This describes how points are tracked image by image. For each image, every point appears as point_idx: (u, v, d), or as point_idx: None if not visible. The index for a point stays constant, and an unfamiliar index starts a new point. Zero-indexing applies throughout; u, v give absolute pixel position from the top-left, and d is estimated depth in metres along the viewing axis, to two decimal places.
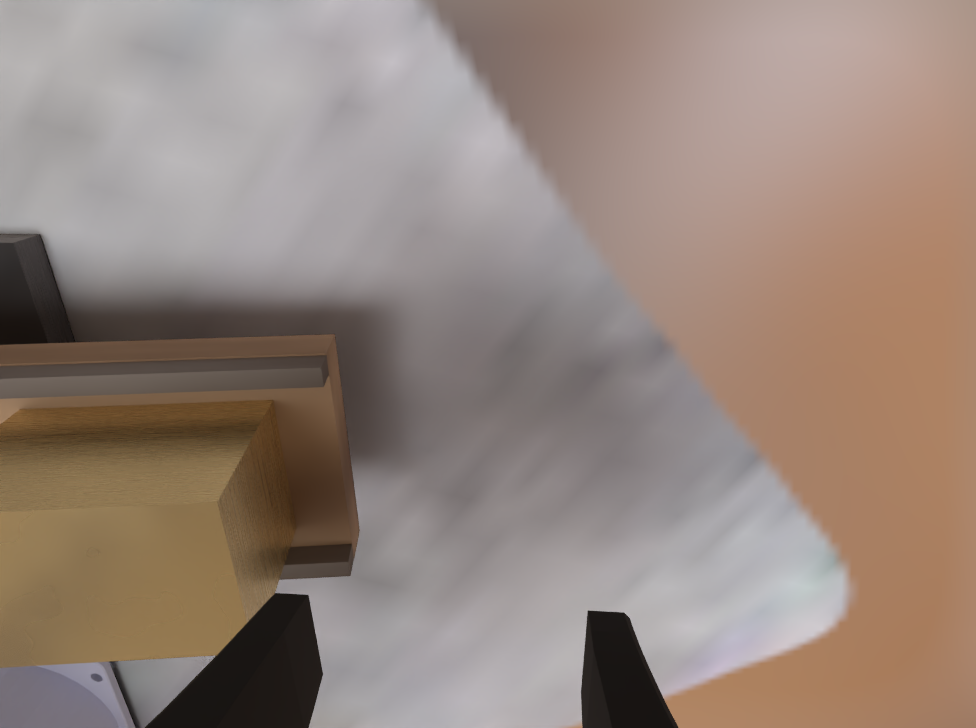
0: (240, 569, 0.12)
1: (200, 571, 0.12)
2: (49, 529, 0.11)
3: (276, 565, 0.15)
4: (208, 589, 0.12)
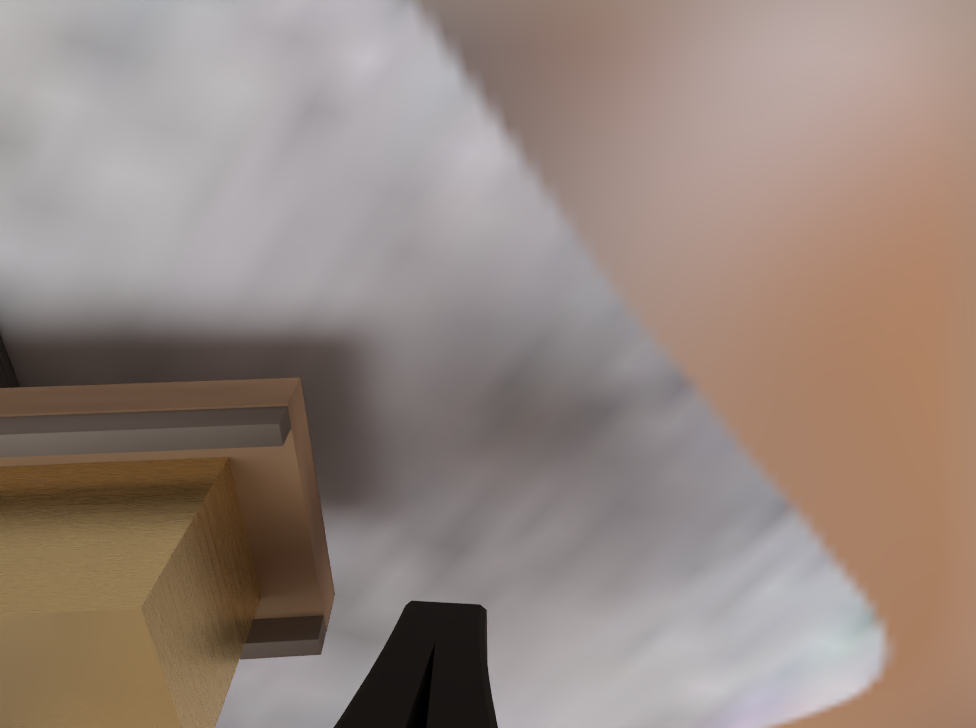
0: (176, 679, 0.10)
1: (126, 685, 0.10)
2: None
3: (232, 652, 0.12)
4: (137, 706, 0.10)
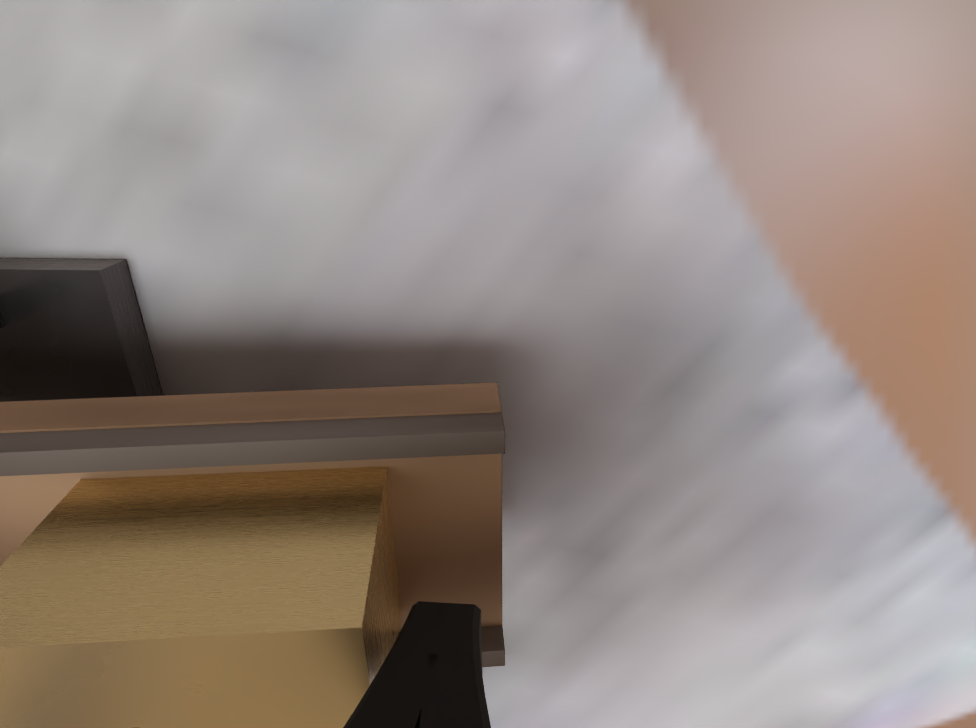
0: None
1: (330, 706, 0.09)
2: (142, 662, 0.09)
3: None
4: None
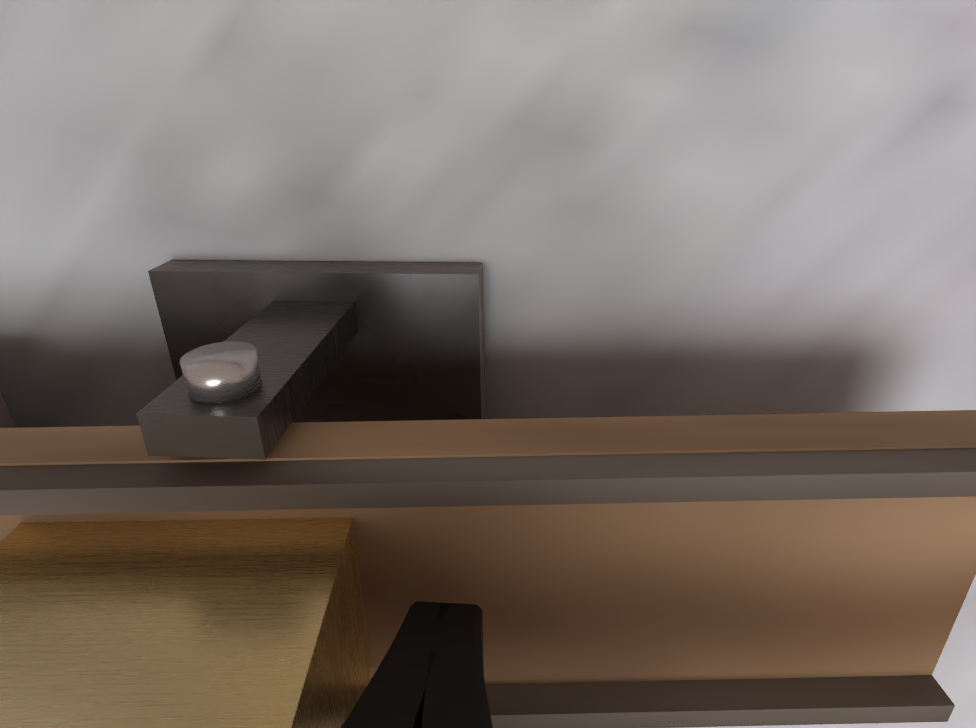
0: None
1: None
2: None
3: None
4: None
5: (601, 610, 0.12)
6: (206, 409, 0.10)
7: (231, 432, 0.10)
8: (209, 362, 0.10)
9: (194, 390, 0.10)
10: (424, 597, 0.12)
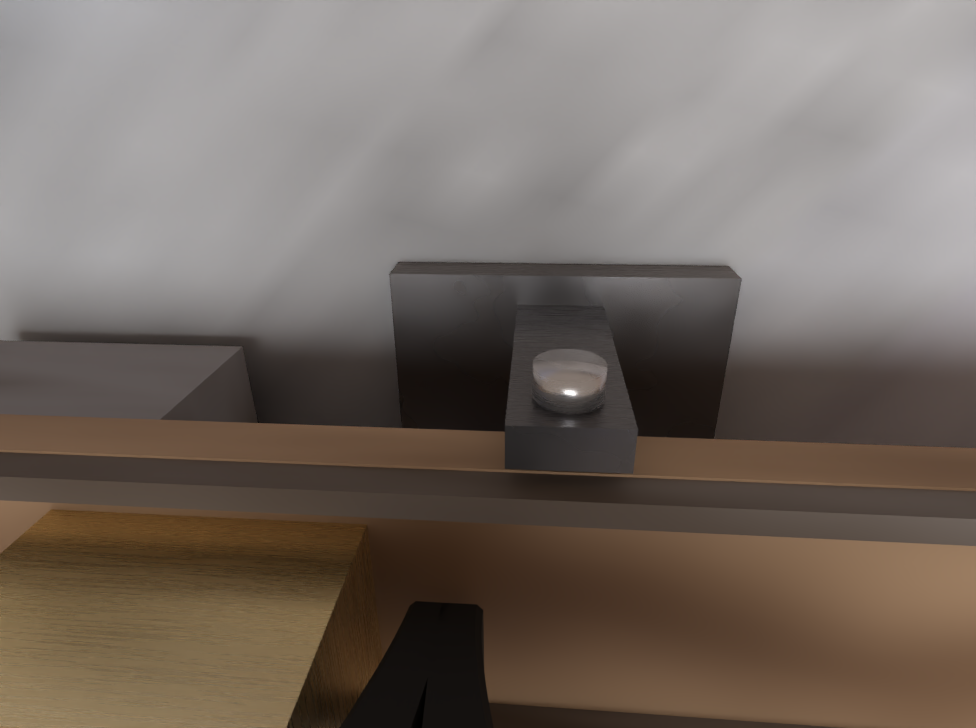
0: None
1: None
2: None
3: None
4: None
5: (929, 657, 0.11)
6: (574, 421, 0.09)
7: (604, 445, 0.09)
8: (570, 371, 0.09)
9: (556, 400, 0.09)
10: (735, 628, 0.11)
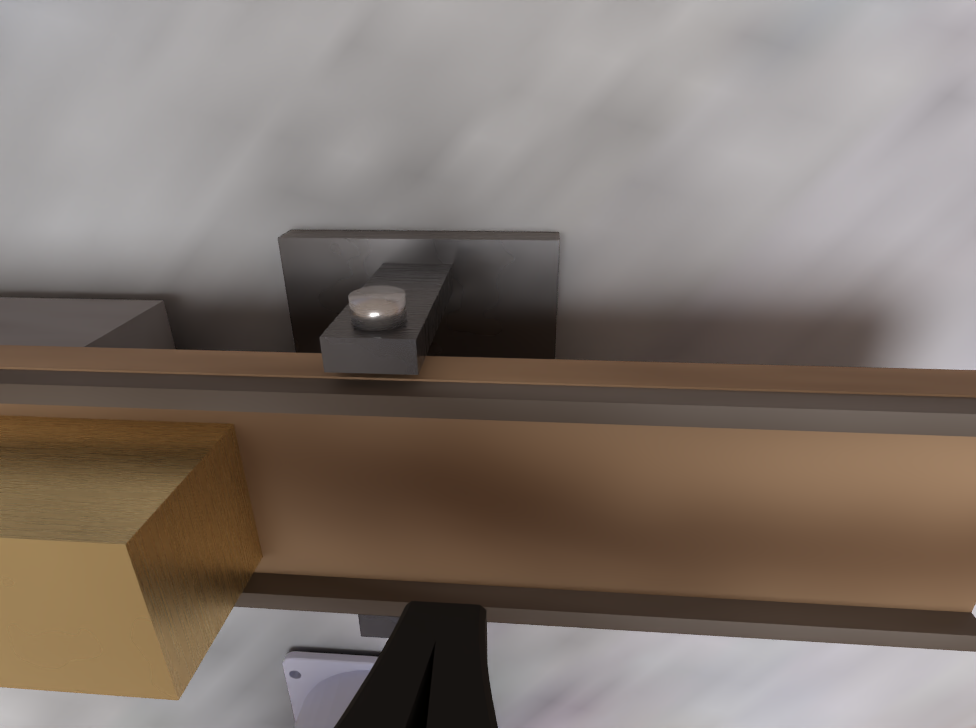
0: (160, 612, 0.11)
1: (116, 612, 0.11)
2: None
3: (225, 600, 0.14)
4: (125, 631, 0.11)
5: (673, 529, 0.14)
6: (373, 334, 0.12)
7: (393, 352, 0.12)
8: (373, 298, 0.13)
9: (361, 320, 0.13)
10: (523, 507, 0.14)
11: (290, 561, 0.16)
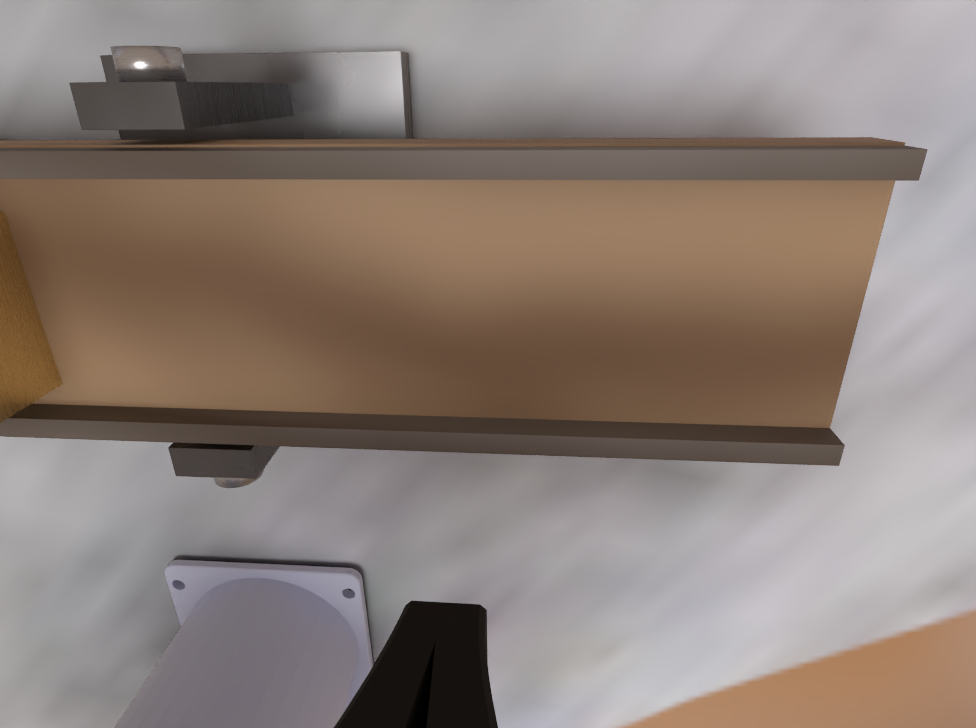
0: None
1: None
2: None
3: None
4: None
5: (496, 331, 0.13)
6: (132, 82, 0.11)
7: (153, 99, 0.11)
8: (136, 46, 0.11)
9: (122, 70, 0.11)
10: (332, 309, 0.13)
11: (93, 389, 0.14)
